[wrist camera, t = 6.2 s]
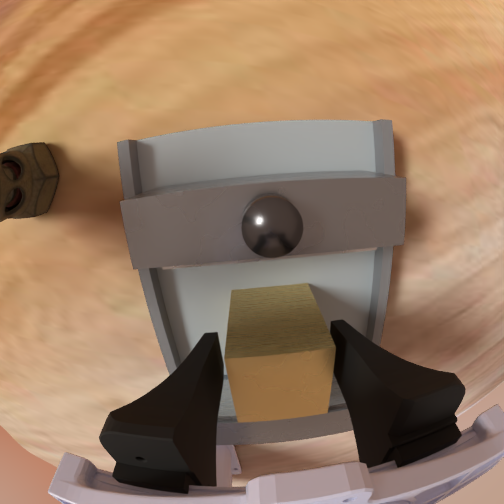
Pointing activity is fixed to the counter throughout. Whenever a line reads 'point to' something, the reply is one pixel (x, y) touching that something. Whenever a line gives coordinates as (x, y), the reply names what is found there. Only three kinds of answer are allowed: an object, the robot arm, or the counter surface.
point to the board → (272, 271)
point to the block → (278, 354)
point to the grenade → (26, 181)
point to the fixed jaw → (281, 422)
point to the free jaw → (264, 218)
